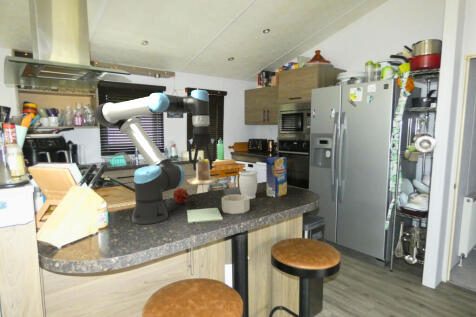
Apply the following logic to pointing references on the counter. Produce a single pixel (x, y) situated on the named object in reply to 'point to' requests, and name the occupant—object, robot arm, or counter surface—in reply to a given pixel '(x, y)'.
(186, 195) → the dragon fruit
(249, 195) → the jar
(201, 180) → the lid
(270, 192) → the blue food box
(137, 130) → the robot arm
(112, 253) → the counter surface
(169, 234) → the counter surface
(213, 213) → the mat
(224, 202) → the bowl
